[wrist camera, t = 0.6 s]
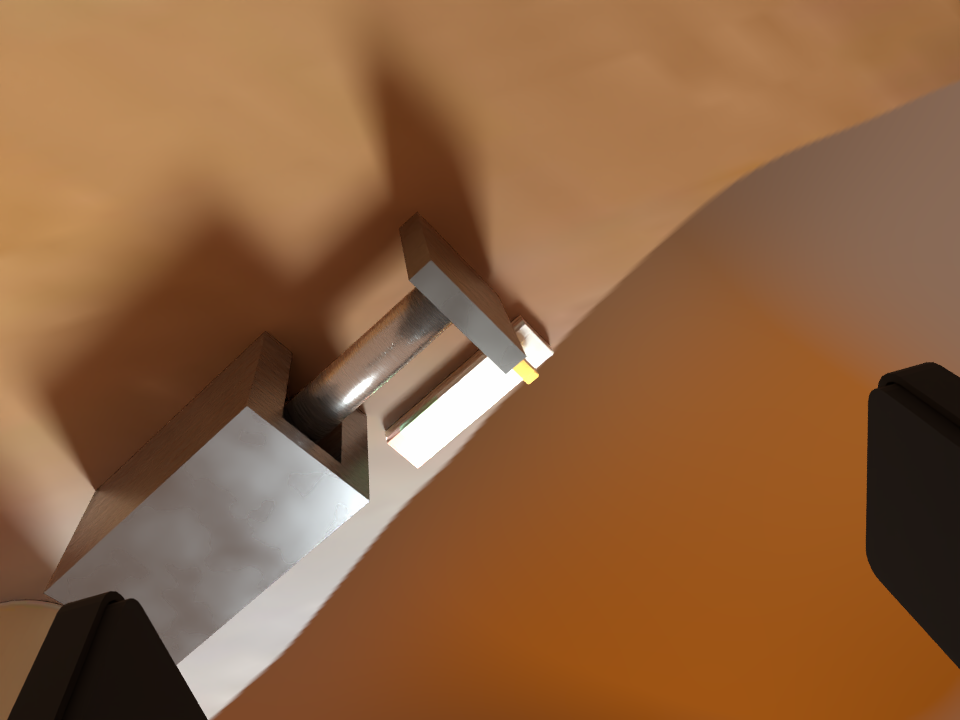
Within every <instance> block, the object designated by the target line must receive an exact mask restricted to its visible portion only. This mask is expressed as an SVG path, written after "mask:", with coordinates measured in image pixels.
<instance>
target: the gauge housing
mask: <svg viewBox="0 0 960 720" xmlns="http://www.w3.org/2000/svg"><path fill="white" fill-rule="evenodd" d="M511 324H512V326H513V328H514V330H515V333H516V335H517V337H518V339H519V341H520V343H521V345H522V348H523V350H524V352H525V354H526V356H527V357H526V358H525V359H526V360H527V361H528V362H529V363H530V364H531V365H532V366H533V367H534V368H535V369H536V368H537V367H538V366H539V365H541V364H542V363H543V362H544V361H545V360H546V359H548V358H549V357H550V356H551V355H552V354H553V350H552V349H551V347H550V346H549V345H548V343H547V342H546V341H545V340H544V339H543V338H542V337H541V336H540V335H539V334H538V333H537V332H536V331H535V330H534V329H533V328H532V327H531V326H530V325H529V324H528V323H527V322H526V321H525V320H524V319H523V317H522V316H521V315H519V316H518V317H517V318H515V319H514V320H513V321H512V322H511ZM291 359H292V353H291V352H290V351H289V350H288V349H286V348H285V347H284V346H283V345H282V344H280V343H279V342H278V341H277V340H276V339H274V338H273V337H272V336H271V335H270V334H268V333H267V332H266V331H265V332H264V333H263V334H262V335H261V336H260V337H259V338H258V339H257V340H256V341H255V342H254V343H253V344H251V345H250V346H249V347H248V348H247V349H246V350H245V351H244V352H243V353H242V354H241V355H240V356H239V357H238V358H237V359H236V360H234V361H233V362H232V363H231V364H230V365H229V366H228V367H227V368H226V369H225V370H224V371H223V372H222V373H221V374H220V375H219V376H218V377H216V378H215V379H214V380H213V381H212V382H211V383H210V384H209V385H208V386H207V387H206V388H205V389H204V390H203V391H202V392H201V393H199V394H198V395H197V396H196V397H195V398H194V399H193V400H192V401H191V402H190V403H189V404H188V405H187V406H186V407H185V408H184V409H182V410H181V411H180V412H179V413H178V414H177V415H176V416H175V417H174V418H173V419H172V420H171V421H170V422H169V423H168V424H167V425H165V426H164V427H163V428H162V429H161V430H160V431H159V432H158V433H157V434H156V435H155V436H154V437H153V438H152V439H151V440H150V441H148V442H147V443H146V444H145V445H144V446H143V447H142V448H141V449H140V450H139V451H138V452H137V453H136V454H135V455H134V456H133V457H131V458H130V459H129V460H128V461H127V462H126V463H125V464H124V465H123V466H122V467H121V468H120V469H119V470H118V471H117V472H116V473H114V474H113V475H112V476H111V477H110V478H109V479H108V480H107V481H106V482H105V483H104V484H103V485H102V486H101V487H100V488H99V489H98V490H96V491H95V493H94V495H93V497H92V499H91V501H90V503H89V505H88V507H87V509H86V511H85V513H84V515H83V517H82V519H81V521H80V523H79V525H78V527H77V528H76V530H75V532H74V534H73V536H72V538H71V540H70V542H69V544H68V546H67V548H66V550H65V552H64V554H63V556H62V558H61V560H60V562H59V564H58V566H57V568H56V570H55V572H54V574H53V576H52V578H51V580H50V582H49V584H48V586H47V588H46V590H45V592H44V594H46V595H48V596H50V597H51V598H53V599H55V600H57V601H58V602H60V603H62V604H64V605H65V604H67V603H70V602H74V601H77V600H81V599H84V598H88V597H91V596H95V595H99V594H102V593H106V592H109V591H116V592H118V593H119V594H121V595H122V596H123V597H124V599H125V600H126V599H129V598H134V599H136V600H137V601H138V602H139V603H140V604H141V606H142V607H143V609H144V611H145V612H146V614H147V616H148V618H149V619H150V621H151V623H152V625H153V626H154V628H155V630H156V631H157V633H158V635H159V637H160V638H161V640H162V642H163V643H164V645H165V647H166V649H167V650H168V652H169V654H170V656H171V657H172V659H173V661H174V662H175V664H176V665H177V664H178V663H179V662H180V661H182V660H183V659H184V658H185V657H186V656H188V655H189V654H190V653H191V652H192V651H193V650H195V649H196V648H197V647H198V646H199V645H201V644H202V643H203V642H204V641H205V640H206V639H208V638H209V637H210V636H211V635H212V634H213V633H215V632H216V631H217V630H218V629H219V628H221V627H222V626H223V625H224V624H225V623H226V622H228V621H229V620H230V619H231V618H232V617H234V616H235V615H236V614H237V613H238V612H239V611H241V610H242V609H243V608H244V607H245V606H247V605H248V604H249V603H250V602H251V601H252V600H254V599H255V598H256V597H257V596H258V595H259V594H261V593H262V592H263V591H264V590H265V589H267V588H268V587H269V586H270V585H271V584H272V583H274V582H275V581H276V580H277V579H278V578H280V577H281V576H282V575H283V574H284V573H285V572H287V571H288V570H289V569H290V568H291V567H292V566H294V565H295V564H296V563H297V562H298V561H300V560H301V559H302V558H303V557H304V556H305V555H307V554H308V553H309V552H310V551H311V550H313V549H314V548H315V547H316V546H317V545H318V544H320V543H321V542H322V541H323V540H324V539H326V538H327V537H328V536H329V535H330V534H331V533H333V532H334V531H335V530H336V529H337V528H338V527H340V526H341V525H342V524H343V523H344V522H346V521H347V520H348V519H349V518H350V517H351V516H353V515H354V514H355V513H356V512H357V511H359V510H360V509H361V508H362V507H363V506H364V505H366V504H367V503H368V502H369V470H368V440H367V416H366V415H365V414H364V413H363V412H361V411H360V410H359V409H358V408H357V409H355V410H354V411H353V412H352V413H351V414H350V415H349V416H348V417H346V418H345V419H344V420H343V421H342V422H341V423H340V424H339V425H337V426H336V427H335V428H334V429H333V430H332V431H331V432H329V433H328V434H327V435H326V436H325V437H324V438H323V439H322V440H320V441H319V442H318V443H317V444H315V443H314V442H313V441H311V440H310V439H309V438H307V437H306V436H305V435H304V434H302V433H301V432H300V431H299V430H297V429H296V428H295V427H294V426H292V425H291V424H290V423H288V422H287V421H286V420H285V419H283V418H282V414H283V408H284V402H285V396H286V390H287V383H288V377H289V371H290V365H291ZM522 380H523V379H522V378H521V377H520V376H519V375H518V374H517V373H516V372H515V371H514V370H513V369H512V370H511V371H509V372H508V373H507V374H505V373H503V372H502V371H501V370H500V369H499V368H498V367H497V366H496V365H495V364H494V363H493V362H492V361H491V360H490V359H489V358H488V357H487V356H486V355H485V354H484V353H483V352H482V351H481V350H479V351H477V352H476V353H475V354H474V355H473V356H472V357H470V358H469V359H468V360H467V361H466V362H465V363H464V364H462V365H461V366H460V367H459V368H458V369H457V370H456V371H454V372H453V373H452V374H451V375H450V376H449V377H447V378H446V379H445V380H444V381H443V382H442V383H441V384H439V385H438V386H437V387H436V388H435V389H434V390H432V391H431V392H430V393H429V394H428V395H427V396H426V397H424V398H423V399H422V400H421V401H420V402H419V403H417V404H416V405H415V406H414V407H413V408H412V409H411V410H409V411H408V412H407V413H406V414H405V415H404V416H402V417H401V418H400V419H399V420H398V421H397V422H396V423H394V424H393V425H392V426H391V427H390V428H389V429H388V430H386V431H385V436H386V439H387V443H388V444H389V445H390V446H392V447H393V448H394V449H395V450H396V451H398V452H399V453H400V454H401V455H402V456H404V457H405V458H406V459H407V460H408V461H410V462H411V463H412V464H413V465H414V466H416V467H417V468H419V467H420V466H421V465H422V464H423V463H425V462H426V461H427V460H428V459H429V458H430V457H432V456H433V455H434V454H435V453H436V452H438V451H439V450H440V449H441V448H442V447H444V446H445V445H446V444H447V443H448V442H449V441H451V440H452V439H453V438H454V437H455V436H457V435H458V434H459V433H460V432H461V431H462V430H464V429H465V428H466V427H467V426H468V425H470V424H471V423H472V422H473V421H474V420H475V419H477V418H478V417H479V416H480V415H481V414H483V413H484V412H485V411H486V410H487V409H488V408H490V407H491V406H492V405H493V404H494V403H496V402H497V401H498V400H499V399H500V398H501V397H503V396H504V395H505V394H506V393H507V392H509V391H510V390H511V389H512V388H513V387H514V386H516V385H517V384H518V383H519V382H520V381H522Z"/></svg>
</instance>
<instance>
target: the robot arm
mask: <svg viewBox="0 0 960 720" xmlns="http://www.w3.org/2000/svg"><path fill="white" fill-rule="evenodd" d="M866 511H867V512H866V555H867V558H868V562H869V564H870V566H871V569H872V570H873V572H874V574H875V575H876V577H877V578H878V579H879V581H880V582H881V583H882V584H883V585H884V586H885V587H886V588H887V589H888V590H889V592H890V593H891V594H892V595H893V596H894V597H895V598H896V599H897V600H898V601H899V603H900V604H901V605H902V606H903V607H904V608H905V609H906V610H907V611H908V612H909V614H910V615H911V616H912V617H913V618H914V619H915V620H916V621H917V622H918V623H919V624H920V626H921V627H922V628H923V629H924V630H925V631H926V632H927V633H928V635H929V636H930V637H931V638H932V639H933V640H934V641H935V642H936V643H937V644H938V646H939V647H940V648H941V649H942V650H943V651H944V652H945V653H946V654H947V655H948V657H949V658H950V659H951V660H952V661H953V662H954V663H955V664H956V665H957V666H958V668H959V669H960V377H958V376H957V375H955V374H953V373H952V372H950V371H948V370H947V369H945V368H944V367H942V366H941V365H938V364H936V363H934V362H928V363H927V362H926V363H923V364H919V365H916V366H912V367H909V368H905V369H902V370H898V371H895V372H891V373H887V374H885V375H884V376H882V377H881V379H880V381H879V385H878V388H877V389H874V390H873V391H871V393H870V395H869V400H868V448H867V509H866ZM7 720H208V719H207V718H206V716H205V714H204V713H203V711H202V709H201V707H200V706H199V704H198V702H197V700H196V699H195V697H194V695H193V694H192V692H191V690H190V688H189V687H188V685H187V683H186V681H185V680H184V678H183V676H182V675H181V673H180V671H179V669H178V668H177V666H176V664H175V662H174V661H173V659H172V657H171V656H170V654H169V652H168V650H167V649H166V647H165V645H164V643H163V642H162V640H161V638H160V637H159V635H158V633H157V631H156V630H155V628H154V626H153V625H152V623H151V621H150V619H149V618H148V616H147V614H146V612H145V611H144V609H143V607H142V606H141V604H140V603H139V602H138V601H137V600H136V599H134V598H129V599H126V600H125V599H124V597H123V596H122V595H121V594H119V593H118V592H116V591H109V592H106V593H102V594H99V595H95V596H91V597H88V598H84V599H81V600H77V601H74V602H70V603H67V604H65V605H63V606H62V607H61V608H60V609H59V611H58V612H57V614H56V616H55V618H54V620H53V622H52V625H51V627H50V629H49V631H48V633H47V635H46V637H45V640H44V642H43V644H42V646H41V648H40V650H39V652H38V655H37V657H36V659H35V661H34V663H33V665H32V667H31V670H30V672H29V674H28V676H27V678H26V680H25V682H24V684H23V687H22V689H21V691H20V693H19V695H18V697H17V699H16V702H15V704H14V706H13V708H12V710H11V712H10V714H9V717H8V719H7Z"/></svg>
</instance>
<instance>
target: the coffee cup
mask: <svg viewBox="0 0 960 720" xmlns="http://www.w3.org/2000/svg"><path fill="white" fill-rule="evenodd" d="M61 607H62V605H59V604H55V603H50V602H44V601H35V600H18V601H9V602H4V603H0V720H7V719H8V717H9V714H10V712H11V710H12V708H13V706H14V704H15V702H16V699H17V697H18V695H19V693H20V691H21V689H22V687H23V684H24V682H25V680H26V678H27V676H28V674H29V672H30V670H31V667H32V665H33V663H34V661H35V659H36V657H37V655H38V652H39V650H40V648H41V646H42V644H43V642H44V640H45V637H46V635H47V633H48V631H49V629H50V627H51V625H52V622H53V620H54V618H55V616H56V614H57V612H58V611H59V609H60V608H61Z"/></svg>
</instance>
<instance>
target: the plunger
mask: <svg viewBox="0 0 960 720" xmlns="http://www.w3.org/2000/svg"><path fill="white" fill-rule="evenodd" d="M399 231H400V236H401V241H402V247H403V252H404V257H405V262H406V268H407V273H408V278H409V281H410V282H411V283H412V284H413V285H414V286H415V288H414V289H413V290H412V291H411V292H409V293H408V294H407V295H406V296H405V297H404V298H403V299H402V300H401V301H400V302H398V303H397V304H396V305H395V306H394V307H393V308H392V309H391V310H390V311H389V312H387V313H386V314H385V315H384V316H383V317H382V318H381V319H380V320H379V321H378V322H376V323H375V324H374V325H373V326H372V327H371V328H370V329H369V330H368V331H367V332H365V333H364V334H363V335H362V336H361V337H360V338H359V339H358V340H357V341H356V342H354V343H353V344H352V345H351V346H350V347H349V348H348V349H347V350H346V351H345V352H343V353H342V354H341V355H340V356H339V357H338V358H337V359H336V360H335V361H334V362H332V363H331V364H330V365H329V366H328V367H327V368H326V369H325V370H324V371H323V372H321V373H320V374H319V375H318V376H317V377H316V378H315V379H314V380H313V381H312V382H310V383H309V384H308V385H307V386H306V387H305V388H304V389H303V390H302V391H301V392H299V393H298V394H297V395H296V396H295V397H294V398H293V399H292V400H291V401H289V402H288V403H287V404H286V405H285V406H284V408H283V414H282V418H283V419H285V420H286V421H287V422H288V423H290V424H291V425H292V426H294V427H295V428H296V429H297V430H299V431H300V432H301V433H302V434H304V435H305V436H306V437H307V438H309V439H310V440H311V441H313V442H314V443H315V444H317V443H318V442H319V441H320V440H322V439H323V438H324V437H325V436H326V435H327V434H328V433H329V432H331V431H332V430H333V429H334V428H335V427H336V426H337V425H339V424H340V423H341V422H342V421H343V420H344V419H345V418H346V417H348V416H349V415H350V414H351V413H352V412H353V411H354V410H355V409H357V408H358V407H359V406H360V405H361V404H362V403H363V402H365V401H366V400H367V399H368V398H369V397H370V396H371V395H372V394H374V393H375V392H376V391H377V390H378V389H379V388H380V387H381V386H383V385H384V384H385V383H386V382H387V381H388V380H389V379H391V378H392V377H393V376H394V375H395V374H396V373H397V372H398V371H400V370H401V369H402V368H403V367H404V366H405V365H406V364H407V363H409V362H410V361H411V360H412V359H413V358H414V357H415V356H417V355H418V354H419V353H420V352H421V351H422V350H423V349H424V348H426V347H427V346H428V345H429V344H430V343H431V342H432V341H434V340H435V339H436V338H437V337H438V336H439V335H440V334H441V333H443V332H444V331H445V330H446V329H447V328H448V327H449V326H450V325H452V324H454V325H455V326H456V327H457V328H458V329H459V330H460V331H461V332H462V333H463V334H465V335H466V336H467V337H468V338H469V339H470V340H471V341H472V342H473V343H474V344H475V345H476V346H477V347H478V348H479V349H480V350H481V351H482V352H483V353H484V354H485V355H486V356H487V357H488V358H489V359H490V360H491V361H492V362H493V363H494V364H495V365H496V366H497V367H498V368H499V369H500V370H501V371H502V372H503V373H505V374H507V373H508V372H509V371H511V370H512V369H513V370H514V371H515V372H516V373H517V374H518V375H519V376H520V377H521V378H522V379H523V380H524V381H525V382H526V383H527V384H530V383H531V382H532V381H533V380H534V379H536V378H537V377H538V376H539V375H538V372H537V370H536V369H535V368H534V367H533V366H532V365H531V364H530V363H529V362H528V361H527V360H526V359H525V358H526V357H527V356H526V354H525V352H524V350H523V348H522V345H521V343H520V341H519V339H518V337H517V335H516V333H515V330H514V328H513V326H512V324H511V322H510V320H509V318H508V316H507V313H506V311H505V309H504V307H503V305H502V303H501V301H500V298H499V296H498V295H497V294H496V293H495V292H494V291H493V290H492V289H491V288H490V287H489V286H488V285H487V284H486V283H485V281H484V280H483V279H482V278H481V277H480V276H479V275H478V274H477V273H476V272H475V271H474V270H473V269H472V268H471V267H470V266H469V265H468V264H467V263H466V262H465V261H464V260H463V259H462V258H461V257H460V256H459V255H458V253H457V252H456V251H455V250H454V249H453V248H452V247H451V246H450V245H449V244H448V243H447V242H446V241H445V240H444V239H443V238H442V237H441V236H440V235H439V234H438V233H437V232H436V231H435V230H434V229H433V228H432V227H431V226H430V224H429V223H428V222H427V221H426V220H425V219H424V218H423V217H422V216H421V215H420V214H419V213H418V212H417V213H415V214H414V215H413V216H412V217H411V218H410V219H409V220H408V221H407V222H406V223H405V224H404V225H403V226H402V227H401V228H399Z"/></svg>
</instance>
